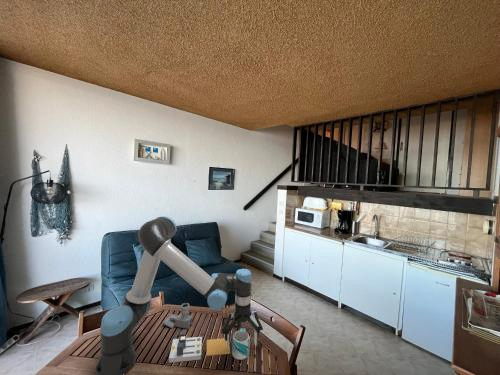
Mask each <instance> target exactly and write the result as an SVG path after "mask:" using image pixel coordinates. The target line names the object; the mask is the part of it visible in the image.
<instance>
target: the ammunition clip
mask: <svg viewBox="0 0 500 375" xmlns="http://www.w3.org/2000/svg"><path fill="white" fill-rule="evenodd" d="M228 312H231V313H234V312H235V305H233V306H232V305H231V304H230V306H229V305H228V304H227V305H226V304H225V305H224V307H223V308H222V314H221V315H222V316H221V327H223V325H224V323H225V321H226V319H227V317H228ZM234 318H235V317H234V316H233V317H232V318H231V320H230V322H229V324H230V323H231V322H232V321H233V320H234ZM229 324H228V326H229ZM228 326H227V327H228ZM238 327H239V328H240V329H241V328H242V322H241V323H239V322H238V323H237V324H236V325H235V326H234V327H233V328H238Z"/></svg>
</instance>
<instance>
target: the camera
mask: <svg viewBox="0 0 500 375" xmlns="http://www.w3.org/2000/svg"><path fill="white" fill-rule="evenodd" d="M180 308H181V313H179V314H178V315H175V314H173V313H170V314H169V315H168V316H167V317H165V319H164V320H163V321H162V323H161V324H162V325H164V326H166V327H168V328H170V329H173V328H174V327H176V328H182V329H186V330H187V329H190V328H191V326H192V325H193V316H192V315H190V314H189V313H190V312H189V310H190V303H188V302H186V303H185V302H184V303H182V304H181V306H180ZM190 325H191V326H190Z"/></svg>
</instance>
